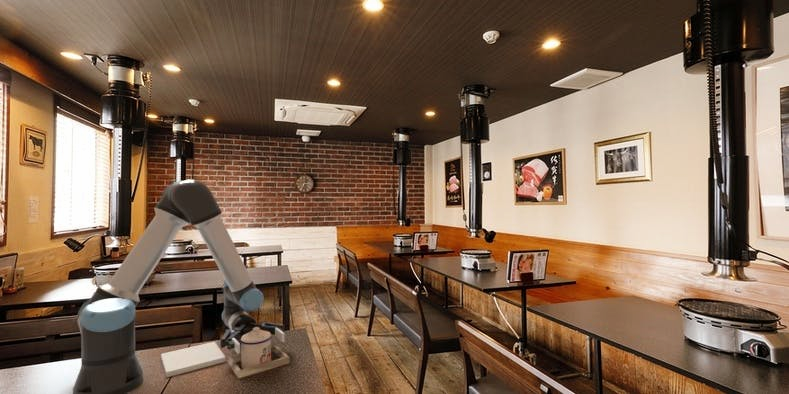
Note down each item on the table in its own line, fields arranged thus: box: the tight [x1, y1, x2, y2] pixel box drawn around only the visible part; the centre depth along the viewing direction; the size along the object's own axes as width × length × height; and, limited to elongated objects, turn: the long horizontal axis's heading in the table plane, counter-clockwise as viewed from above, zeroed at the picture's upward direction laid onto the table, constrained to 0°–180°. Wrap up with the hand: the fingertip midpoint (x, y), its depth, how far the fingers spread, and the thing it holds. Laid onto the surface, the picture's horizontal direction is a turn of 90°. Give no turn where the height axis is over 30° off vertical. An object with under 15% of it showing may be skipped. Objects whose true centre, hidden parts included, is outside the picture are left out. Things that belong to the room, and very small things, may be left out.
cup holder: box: [227, 344, 290, 379], centre depth 113 cm, size 12×15×2 cm
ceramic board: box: [160, 341, 226, 378], centre depth 115 cm, size 16×16×2 cm
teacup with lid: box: [239, 327, 273, 369], centre depth 113 cm, size 12×9×12 cm
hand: (261, 343), depth 111 cm, fingers open, 13 cm apart
